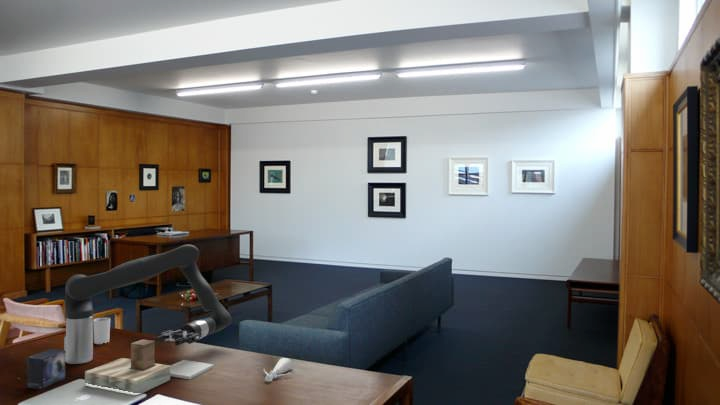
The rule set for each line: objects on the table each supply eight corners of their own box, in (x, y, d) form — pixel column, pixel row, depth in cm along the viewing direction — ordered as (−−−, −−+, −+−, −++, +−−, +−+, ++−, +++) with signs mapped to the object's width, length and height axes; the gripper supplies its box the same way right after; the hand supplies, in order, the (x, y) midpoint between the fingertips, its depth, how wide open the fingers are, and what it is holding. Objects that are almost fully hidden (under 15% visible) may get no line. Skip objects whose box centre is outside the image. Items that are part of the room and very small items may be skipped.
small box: (42, 390, 173) (42, 358, 173) (25, 388, 174) (25, 357, 174) (66, 379, 183) (66, 349, 183) (50, 377, 184) (50, 348, 184)
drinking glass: (113, 341, 229) (113, 318, 229) (100, 345, 223) (100, 322, 223) (103, 339, 232) (103, 316, 232) (89, 343, 226) (89, 320, 226)
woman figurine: (302, 357, 198) (281, 375, 181) (302, 368, 198) (281, 388, 181) (274, 353, 201) (251, 372, 184) (274, 365, 202) (251, 384, 185)
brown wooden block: (130, 377, 181) (131, 343, 181) (142, 372, 186) (142, 339, 186) (143, 379, 179) (143, 345, 179) (154, 374, 184) (154, 341, 184)
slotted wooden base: (84, 386, 177) (84, 371, 176) (121, 371, 192) (121, 357, 192) (136, 396, 169) (136, 380, 169) (170, 379, 184) (170, 365, 184)
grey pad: (157, 373, 190) (157, 371, 190) (183, 362, 203) (183, 359, 203) (189, 379, 185) (189, 376, 185) (213, 367, 198) (213, 364, 198)
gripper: (180, 319, 211) (151, 329, 196) (209, 323, 206) (182, 333, 191) (179, 338, 211) (150, 349, 196) (209, 342, 206) (182, 354, 191)
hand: (166, 341), depth 193 cm, fingers open, 8 cm apart
